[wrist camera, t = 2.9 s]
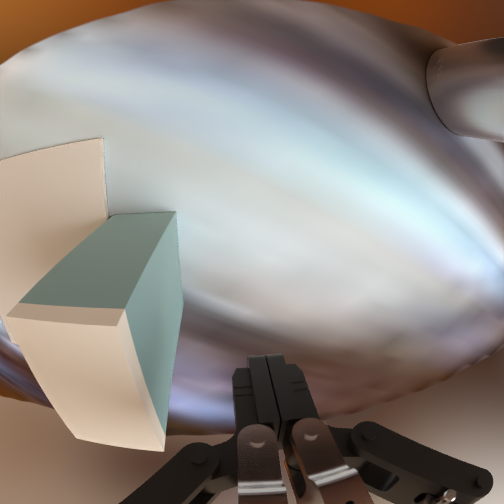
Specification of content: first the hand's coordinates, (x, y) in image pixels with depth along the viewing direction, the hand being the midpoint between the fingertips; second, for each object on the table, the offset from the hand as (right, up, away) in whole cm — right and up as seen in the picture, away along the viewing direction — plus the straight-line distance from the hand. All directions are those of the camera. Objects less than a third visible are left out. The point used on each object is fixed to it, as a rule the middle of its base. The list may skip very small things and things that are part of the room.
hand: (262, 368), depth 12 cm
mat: (-20, +4, +9) cm, 22 cm away
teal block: (-9, +4, +10) cm, 14 cm away
